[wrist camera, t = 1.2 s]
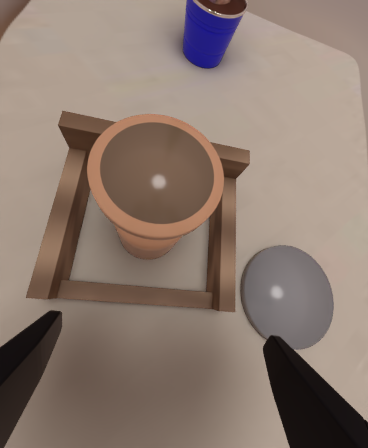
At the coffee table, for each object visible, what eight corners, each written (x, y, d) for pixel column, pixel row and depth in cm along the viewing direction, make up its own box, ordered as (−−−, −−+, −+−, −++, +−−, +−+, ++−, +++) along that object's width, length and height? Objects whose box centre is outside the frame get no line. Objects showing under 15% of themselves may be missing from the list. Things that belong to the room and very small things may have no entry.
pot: (145, 277, 22) (153, 267, 10) (100, 226, 22) (54, 155, 10) (193, 234, 24) (248, 181, 12) (152, 189, 25) (165, 94, 13)
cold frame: (218, 307, 22) (252, 316, 16) (47, 295, 20) (1, 300, 13) (222, 183, 27) (249, 150, 20) (83, 158, 24) (62, 110, 17)
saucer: (292, 370, 22) (300, 375, 21) (221, 291, 23) (225, 292, 22) (339, 295, 26) (348, 295, 25) (277, 229, 27) (283, 227, 26)
